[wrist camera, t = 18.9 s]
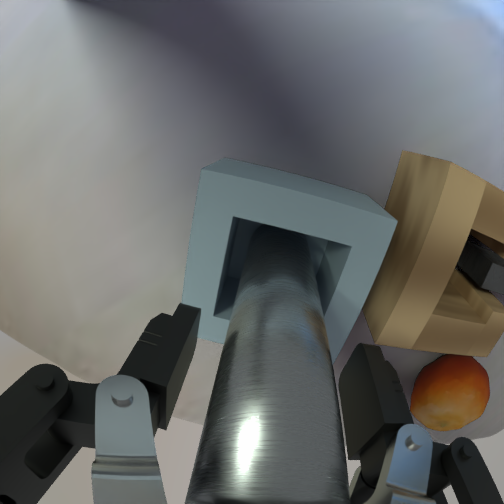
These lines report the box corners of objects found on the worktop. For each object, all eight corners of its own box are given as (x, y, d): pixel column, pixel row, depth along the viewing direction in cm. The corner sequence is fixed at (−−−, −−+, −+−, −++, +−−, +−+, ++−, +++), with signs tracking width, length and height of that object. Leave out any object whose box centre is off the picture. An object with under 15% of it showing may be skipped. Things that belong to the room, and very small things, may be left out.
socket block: (402, 150, 16) (451, 161, 10) (502, 200, 16) (552, 226, 10) (354, 288, 20) (375, 344, 14) (454, 311, 20) (486, 357, 14)
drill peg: (256, 213, 17) (188, 481, 4) (315, 228, 17) (383, 494, 4) (243, 266, 19) (182, 516, 5) (298, 279, 19) (312, 530, 5)
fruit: (493, 368, 20) (484, 438, 15) (430, 376, 26) (413, 440, 21) (489, 321, 18) (484, 404, 13) (413, 334, 24) (393, 409, 19)
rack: (224, 157, 17) (201, 169, 12) (366, 194, 17) (397, 221, 12) (201, 284, 21) (178, 332, 16) (323, 313, 21) (332, 365, 16)
